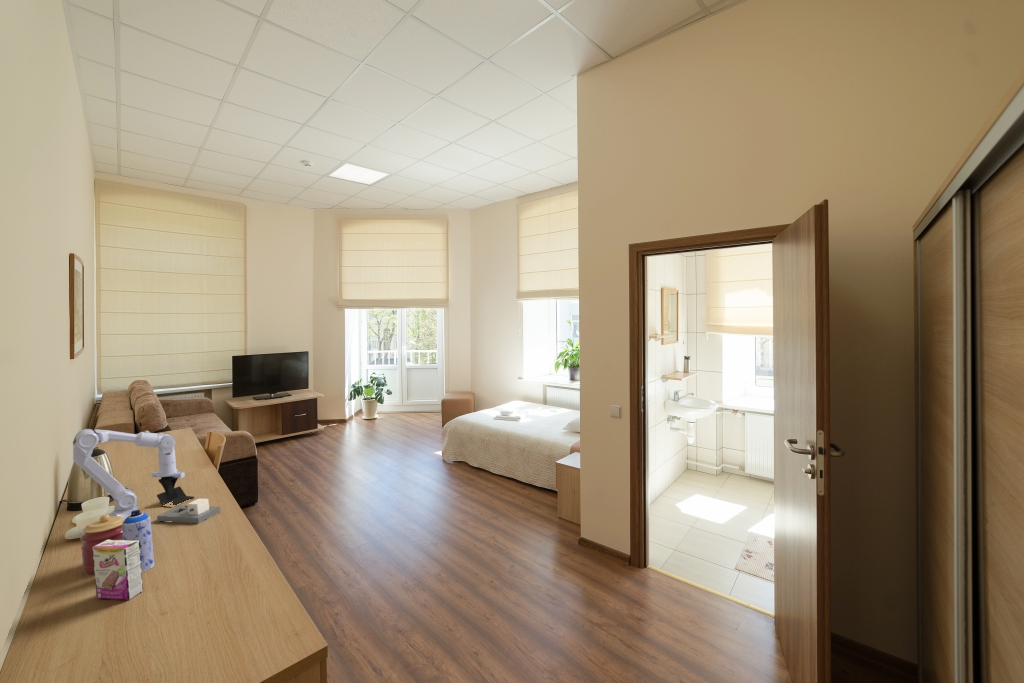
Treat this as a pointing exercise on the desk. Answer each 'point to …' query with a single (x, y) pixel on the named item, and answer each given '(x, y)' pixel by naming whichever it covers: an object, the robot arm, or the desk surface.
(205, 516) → the socket
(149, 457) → the desk surface
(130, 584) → the candy bar box
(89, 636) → the desk surface
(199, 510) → the plug
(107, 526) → the canister
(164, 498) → the black angular piece
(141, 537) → the aerosol can
